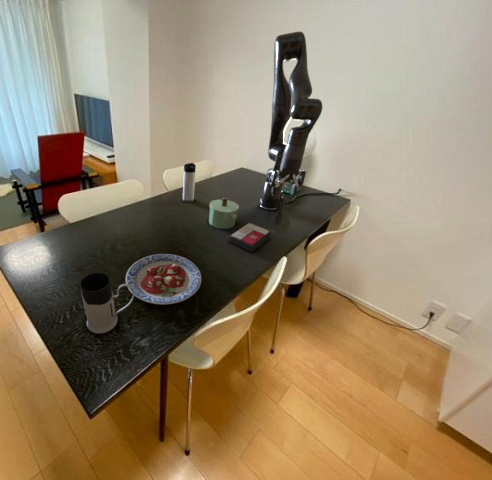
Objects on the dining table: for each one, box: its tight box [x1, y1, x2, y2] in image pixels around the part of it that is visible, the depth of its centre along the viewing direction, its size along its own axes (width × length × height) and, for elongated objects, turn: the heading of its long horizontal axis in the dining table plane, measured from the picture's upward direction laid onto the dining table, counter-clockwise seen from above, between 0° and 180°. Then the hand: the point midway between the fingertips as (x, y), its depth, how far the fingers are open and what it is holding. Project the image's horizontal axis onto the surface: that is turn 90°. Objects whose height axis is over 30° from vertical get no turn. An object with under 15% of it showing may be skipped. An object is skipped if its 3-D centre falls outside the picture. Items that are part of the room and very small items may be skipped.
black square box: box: [229, 222, 271, 253], centre depth 114 cm, size 11×4×15 cm
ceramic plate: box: [125, 253, 202, 306], centre depth 91 cm, size 26×26×3 cm
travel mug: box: [182, 162, 197, 203], centre depth 144 cm, size 6×7×20 cm
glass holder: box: [79, 271, 135, 334], centre depth 73 cm, size 9×14×15 cm, turn 93°
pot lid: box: [209, 196, 240, 213], centre depth 122 cm, size 14×14×5 cm
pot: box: [208, 207, 239, 230], centre depth 125 cm, size 13×18×8 cm
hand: (282, 194), depth 112 cm, fingers open, 8 cm apart
